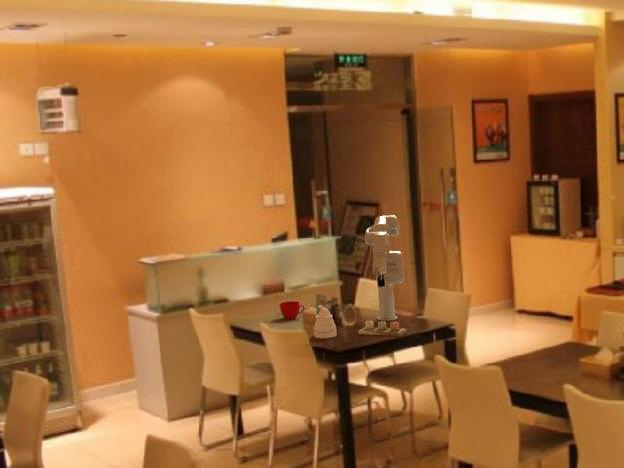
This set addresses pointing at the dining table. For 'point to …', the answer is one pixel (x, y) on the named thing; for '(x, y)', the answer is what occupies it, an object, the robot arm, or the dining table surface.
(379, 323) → the button two
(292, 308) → the ceramic cup
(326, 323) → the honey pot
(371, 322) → the button one
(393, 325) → the button three
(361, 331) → the wooden panel frame
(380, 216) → the robot arm
